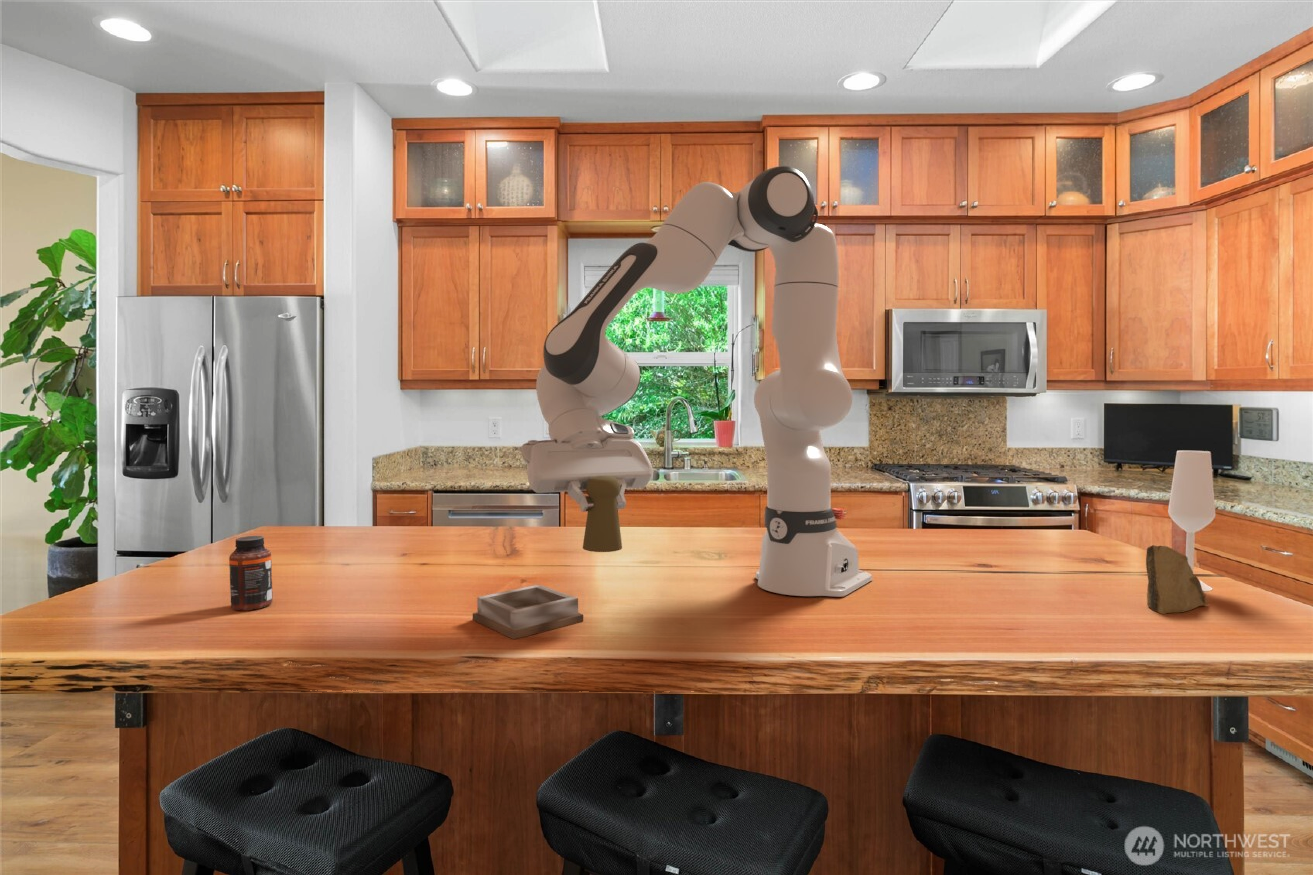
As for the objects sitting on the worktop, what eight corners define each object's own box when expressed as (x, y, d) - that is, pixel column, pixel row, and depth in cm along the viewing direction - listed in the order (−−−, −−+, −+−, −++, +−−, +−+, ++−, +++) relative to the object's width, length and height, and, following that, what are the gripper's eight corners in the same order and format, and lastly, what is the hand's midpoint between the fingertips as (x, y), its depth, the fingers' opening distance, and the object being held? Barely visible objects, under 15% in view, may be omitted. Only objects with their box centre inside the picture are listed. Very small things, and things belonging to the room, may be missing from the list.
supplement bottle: (281, 603, 116) (279, 535, 116) (247, 613, 111) (244, 542, 110) (257, 599, 119) (254, 533, 118) (222, 609, 114) (220, 539, 113)
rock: (1193, 584, 118) (1128, 573, 120) (1219, 551, 112) (1150, 540, 114) (1215, 639, 110) (1145, 626, 112) (1245, 606, 104) (1170, 593, 106)
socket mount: (539, 604, 116) (539, 583, 115) (583, 621, 107) (583, 598, 106) (472, 619, 108) (472, 597, 107) (513, 639, 99) (513, 614, 98)
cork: (616, 553, 104) (617, 479, 104) (577, 550, 106) (578, 477, 105) (626, 545, 110) (627, 475, 110) (589, 542, 112) (590, 473, 111)
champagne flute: (1220, 588, 124) (1226, 452, 123) (1199, 593, 121) (1204, 453, 120) (1178, 579, 130) (1183, 449, 129) (1157, 583, 127) (1161, 450, 126)
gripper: (522, 427, 108) (544, 499, 100) (640, 426, 118) (669, 491, 110) (513, 454, 112) (533, 525, 104) (628, 451, 122) (655, 516, 114)
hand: (604, 508), depth 107 cm, fingers closed on cork, 4 cm apart
